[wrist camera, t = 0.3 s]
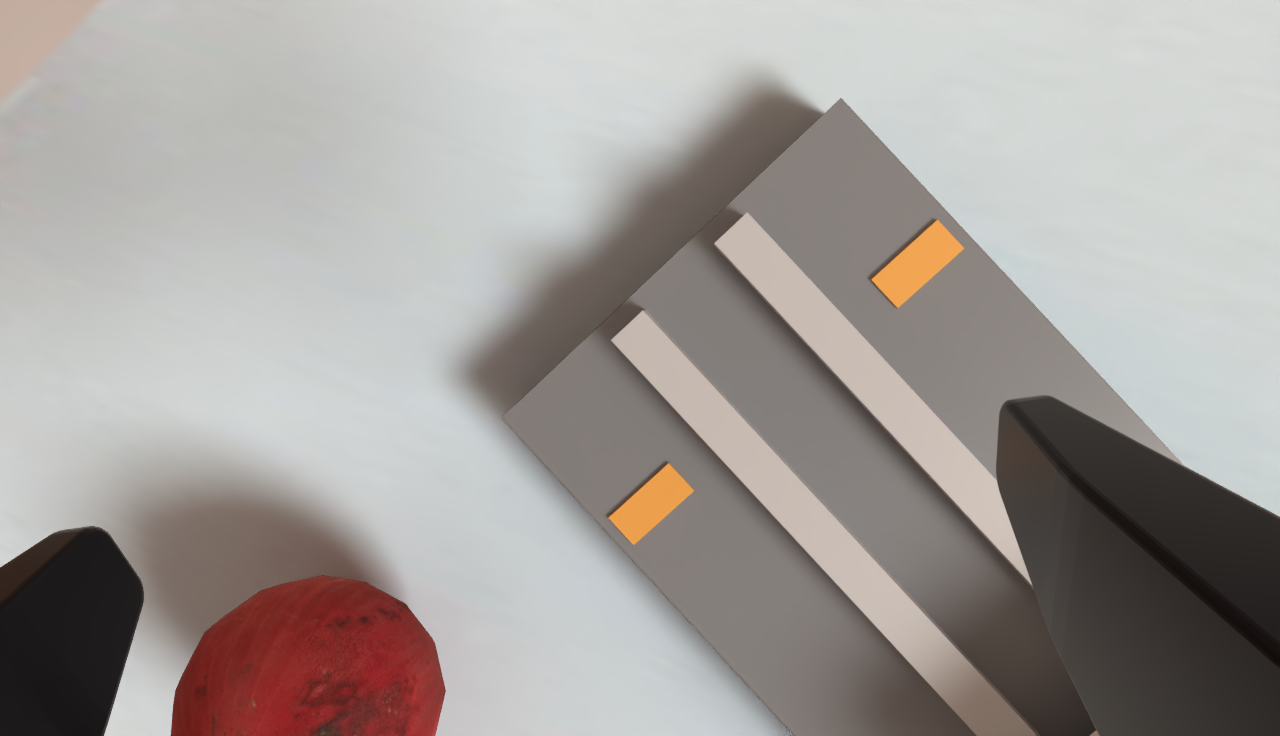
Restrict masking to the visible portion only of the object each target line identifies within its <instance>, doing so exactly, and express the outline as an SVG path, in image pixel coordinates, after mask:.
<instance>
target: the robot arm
mask: <svg viewBox="0 0 1280 736" xmlns="http://www.w3.org/2000/svg"><path fill="white" fill-rule="evenodd" d="M996 477H997V484H998V488H999V492H1000V495H1001V498H1002V501H1003V504H1004V506H1005V509H1006V512H1007V515H1008V518H1009V521H1010V523H1011V526H1012V529H1013V532H1014V535H1015V538H1016V540H1017V543H1018V546H1019V549H1020V552H1021V555H1022V558H1023V560H1024V563H1025V566H1026V569H1027V572H1028V575H1029V577H1030V580H1031V583H1032V586H1033V589H1034V592H1035V594H1036V597H1037V600H1038V603H1039V606H1040V609H1041V611H1042V614H1043V617H1044V619H1045V622H1046V625H1047V627H1048V630H1049V633H1050V635H1051V637H1052V639H1053V642H1054V644H1055V646H1056V648H1057V650H1058V653H1059V655H1060V657H1061V659H1062V661H1063V663H1064V665H1065V667H1066V669H1067V671H1068V673H1069V675H1070V677H1071V679H1072V681H1073V683H1074V685H1075V687H1076V689H1077V692H1078V694H1079V696H1080V698H1081V700H1082V702H1083V704H1084V706H1085V708H1086V710H1087V712H1088V714H1089V716H1090V718H1091V720H1092V722H1093V724H1094V726H1095V728H1096V730H1097V732H1098V734H1099V736H1280V517H1279V516H1277V515H1275V514H1273V513H1272V512H1270V511H1268V510H1266V509H1264V508H1262V507H1260V506H1258V505H1257V504H1255V503H1253V502H1251V501H1249V500H1247V499H1245V498H1243V497H1241V496H1240V495H1238V494H1236V493H1234V492H1232V491H1230V490H1228V489H1226V488H1225V487H1223V486H1221V485H1219V484H1217V483H1215V482H1213V481H1211V480H1209V479H1208V478H1206V477H1204V476H1202V475H1200V474H1198V473H1196V472H1194V471H1192V470H1191V469H1189V468H1187V467H1185V466H1183V465H1181V464H1179V463H1177V462H1176V461H1174V460H1172V459H1170V458H1168V457H1166V456H1164V455H1162V454H1160V453H1159V452H1157V451H1155V450H1153V449H1151V448H1149V447H1147V446H1145V445H1144V444H1142V443H1140V442H1138V441H1136V440H1134V439H1132V438H1130V437H1128V436H1127V435H1125V434H1123V433H1121V432H1119V431H1117V430H1115V429H1113V428H1112V427H1110V426H1108V425H1106V424H1104V423H1102V422H1100V421H1098V420H1096V419H1095V418H1093V417H1091V416H1089V415H1087V414H1085V413H1083V412H1081V411H1080V410H1078V409H1076V408H1074V407H1072V406H1070V405H1068V404H1066V403H1064V402H1063V401H1061V400H1059V399H1057V398H1055V397H1052V396H1050V395H1037V396H1030V397H1023V398H1016V399H1009V400H1007V401H1006V402H1005V403H1003V404H1002V406H1001V409H1000V412H999V424H998V440H997V457H996ZM143 601H144V591H143V585H142V582H141V580H140V578H139V576H138V575H137V573H136V572H135V571H134V569H133V568H132V566H131V565H130V563H129V562H128V560H127V559H126V557H125V556H124V555H123V553H122V552H121V550H120V549H119V547H118V546H117V544H116V543H115V541H114V540H113V539H112V537H111V536H110V535H109V533H108V532H106V531H105V530H103V529H102V528H100V527H94V526H89V527H82V528H74V529H67V530H62V531H58V532H55V533H53V534H51V535H50V536H48V537H46V538H45V539H43V540H42V541H40V542H39V543H37V544H36V545H34V546H33V547H31V548H30V549H28V550H26V551H25V552H23V553H22V554H20V555H19V556H17V557H16V558H14V559H13V560H11V561H10V562H8V563H7V564H5V565H3V566H2V567H0V736H104V733H105V730H106V727H107V724H108V721H109V718H110V714H111V711H112V707H113V704H114V701H115V697H116V694H117V691H118V687H119V684H120V680H121V677H122V674H123V670H124V667H125V664H126V660H127V657H128V653H129V650H130V647H131V643H132V640H133V637H134V633H135V630H136V626H137V623H138V620H139V616H140V613H141V610H142V606H143Z"/></svg>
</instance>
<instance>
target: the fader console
mask: <svg viewBox="0 0 1280 736" xmlns="http://www.w3.org/2000/svg"><path fill="white" fill-rule="evenodd" d="M1037 395H1050V396H1052V397H1055V398H1057V399H1059V400H1061V401H1063V402H1064V403H1066V404H1068V405H1070V406H1072V407H1074V408H1076V409H1078V410H1080V411H1081V412H1083V413H1085V414H1087V415H1089V416H1091V417H1093V418H1095V419H1096V420H1098V421H1100V422H1102V423H1104V424H1106V425H1108V426H1110V427H1112V428H1113V429H1115V430H1117V431H1119V432H1121V433H1123V434H1125V435H1127V436H1128V437H1130V438H1132V439H1134V440H1136V441H1138V442H1140V443H1142V444H1144V445H1145V446H1147V447H1149V448H1151V449H1153V450H1155V451H1157V452H1159V453H1160V454H1162V455H1164V456H1166V457H1168V458H1170V459H1172V460H1174V461H1176V462H1177V463H1179V464H1181V465H1183V464H1182V463H1181V462H1180V460H1179V459H1178V458H1177V457H1176V456H1175V455H1174V454H1173V453H1172V452H1171V451H1170V450H1169V449H1168V448H1167V447H1166V445H1165V444H1164V443H1163V442H1162V441H1161V440H1160V439H1159V438H1158V437H1157V436H1156V435H1155V434H1154V433H1153V432H1152V430H1151V429H1150V428H1149V427H1148V426H1147V425H1146V424H1145V423H1144V422H1143V421H1142V420H1141V419H1140V418H1139V417H1138V415H1137V414H1136V413H1135V412H1134V411H1133V410H1132V409H1131V408H1130V407H1129V406H1128V405H1127V404H1126V403H1125V402H1124V400H1123V399H1122V398H1121V397H1120V396H1119V395H1118V394H1117V393H1116V392H1115V391H1114V390H1113V389H1112V388H1111V387H1110V385H1109V384H1108V383H1107V382H1106V381H1105V380H1104V379H1103V378H1102V377H1101V376H1100V375H1099V374H1098V373H1097V372H1096V370H1095V369H1094V368H1093V367H1092V366H1091V365H1090V364H1089V363H1088V362H1087V361H1086V360H1085V359H1084V358H1083V357H1082V355H1081V354H1080V353H1079V352H1078V351H1077V350H1076V349H1075V348H1074V347H1073V346H1072V345H1071V344H1070V343H1069V342H1068V340H1067V339H1066V338H1065V337H1064V336H1063V335H1062V334H1061V333H1060V332H1059V331H1058V330H1057V329H1056V328H1055V327H1054V326H1053V324H1052V323H1051V322H1050V321H1049V320H1048V319H1047V318H1046V317H1045V316H1044V315H1043V314H1042V313H1041V312H1040V311H1039V309H1038V308H1037V307H1036V306H1035V305H1034V304H1033V303H1032V302H1031V301H1030V300H1029V299H1028V298H1027V297H1026V296H1025V294H1024V293H1023V292H1022V291H1021V290H1020V289H1019V288H1018V287H1017V286H1016V285H1015V284H1014V283H1013V282H1012V281H1011V279H1010V278H1009V277H1008V276H1007V275H1006V274H1005V273H1004V272H1003V271H1002V270H1001V269H1000V268H999V267H998V266H997V264H996V263H995V262H994V261H993V260H992V259H991V258H990V257H989V256H988V255H987V254H986V253H985V252H984V251H983V249H982V248H981V247H980V246H979V245H978V244H977V243H976V242H975V241H974V240H973V239H972V238H971V237H970V236H969V234H968V233H967V232H966V231H965V230H964V229H963V228H962V227H961V226H960V225H959V224H958V223H957V222H956V221H955V219H954V218H953V217H952V216H951V215H950V214H949V213H948V212H947V211H946V210H945V209H944V208H943V207H942V206H941V204H940V203H939V202H938V201H937V200H936V199H935V198H934V197H933V196H932V195H931V194H930V193H929V192H928V191H927V189H926V188H925V187H924V186H923V185H922V184H921V183H920V182H919V181H918V180H917V179H916V178H915V177H914V176H913V174H912V173H911V172H910V171H909V170H908V169H907V168H906V167H905V166H904V165H903V164H902V163H901V162H900V161H899V159H898V158H897V157H896V156H895V155H894V154H893V153H892V152H891V151H890V150H889V149H888V148H887V147H886V146H885V144H884V143H883V142H882V141H881V140H880V139H879V138H878V137H877V136H876V135H875V134H874V133H873V132H872V131H871V129H870V128H869V127H868V126H867V125H866V124H865V123H864V122H863V121H862V120H861V119H860V118H859V117H858V116H857V114H856V113H855V112H854V111H853V110H852V109H851V108H850V107H849V106H848V105H847V104H846V103H845V102H844V101H843V99H842V98H840V99H839V100H838V101H837V102H836V103H835V104H834V105H833V106H832V107H831V108H830V109H829V110H828V111H827V112H826V113H825V114H823V115H822V116H821V117H820V118H819V119H818V120H817V121H816V122H815V123H814V124H813V125H812V126H811V127H810V128H809V129H808V130H806V131H805V132H804V133H803V134H802V135H801V136H800V137H799V138H798V139H797V140H796V141H795V142H794V143H793V144H792V145H791V146H789V147H788V148H787V149H786V150H785V151H784V152H783V153H782V154H781V155H780V156H779V157H778V158H777V159H776V160H775V161H774V162H773V163H771V164H770V165H769V166H768V167H767V168H766V169H765V170H764V171H763V172H762V173H761V174H760V175H759V176H758V177H757V178H756V179H754V180H753V181H752V182H751V183H750V184H749V185H748V186H747V187H746V188H745V189H744V190H743V191H742V192H741V193H740V194H739V195H738V196H736V197H735V198H734V199H733V200H732V201H731V202H730V203H729V204H728V205H727V206H726V207H725V208H724V209H723V210H722V211H721V212H719V213H718V214H717V215H716V216H715V217H714V218H713V219H712V220H711V221H710V222H709V223H708V224H707V225H706V226H705V227H704V228H703V229H701V230H700V231H699V232H698V233H697V234H696V235H695V236H694V237H693V238H692V239H691V240H690V241H689V242H688V243H687V244H686V245H684V246H683V247H682V248H681V249H680V250H679V251H678V252H677V253H676V254H675V255H674V256H673V257H672V258H671V259H670V260H669V261H667V262H666V263H665V264H664V265H663V266H662V267H661V268H660V269H659V270H658V271H657V272H656V273H655V274H654V275H653V276H652V277H651V278H649V279H648V280H647V281H646V282H645V283H644V284H643V285H642V286H641V287H640V288H639V289H638V290H637V291H636V292H635V293H634V294H632V295H631V296H630V297H629V298H628V299H627V300H626V301H625V302H624V303H623V304H622V305H621V306H620V307H619V308H618V309H617V310H616V311H614V312H613V313H612V314H611V315H610V316H609V317H608V318H607V319H606V320H605V321H604V322H603V323H602V324H601V325H600V326H599V327H597V328H596V329H595V330H594V331H593V332H592V333H591V334H590V335H589V336H588V337H587V338H586V339H585V340H584V341H583V342H582V343H581V344H579V345H578V346H577V347H576V348H575V349H574V350H573V351H572V352H571V353H570V354H569V355H568V356H567V357H566V358H565V359H564V360H562V361H561V362H560V363H559V364H558V365H557V366H556V367H555V368H554V369H553V370H552V371H551V372H550V373H549V374H548V375H547V376H546V377H544V378H543V379H542V380H541V381H540V382H539V383H538V384H537V385H536V386H535V387H534V388H533V389H532V390H531V391H530V392H529V393H527V394H526V395H525V396H524V397H523V398H522V399H521V400H520V401H519V402H518V403H517V404H516V405H515V406H514V407H513V408H512V409H510V410H509V411H508V412H507V413H506V414H505V415H504V416H503V417H502V419H503V421H504V422H505V423H506V424H507V425H508V426H509V427H510V428H511V429H512V430H513V431H514V432H515V434H516V435H517V436H518V437H519V438H520V439H521V440H522V441H523V442H524V443H525V444H526V445H527V447H528V448H529V449H530V450H531V451H532V452H533V453H534V454H535V455H536V456H537V457H538V458H539V460H540V461H541V462H542V463H543V464H544V465H545V466H546V467H547V468H548V469H549V470H550V471H551V473H552V474H553V475H554V476H555V477H556V478H557V479H558V480H559V481H560V482H561V483H562V484H563V486H564V487H565V488H566V489H567V490H568V491H569V492H570V493H571V494H572V495H573V496H574V497H575V499H576V500H577V501H578V502H579V503H580V504H581V505H582V506H583V507H584V508H585V509H586V510H587V512H588V513H589V514H590V515H591V516H592V517H593V518H594V519H595V520H596V521H597V522H598V523H599V525H600V526H601V527H602V528H603V529H604V530H605V531H606V532H607V533H608V534H609V535H610V537H611V538H612V539H613V540H614V541H615V542H616V543H617V544H618V545H619V546H620V547H621V548H622V550H623V551H624V552H625V553H626V554H627V555H628V556H629V557H630V558H631V559H632V560H633V561H634V563H635V564H636V565H637V566H638V567H639V568H640V569H641V570H642V571H643V572H644V573H645V574H646V576H647V577H648V578H649V579H650V580H651V581H652V582H653V583H654V584H655V585H656V586H657V587H658V589H659V590H660V591H661V592H662V593H663V594H664V595H665V596H666V597H667V598H668V599H669V600H670V602H671V603H672V604H673V605H674V606H675V607H676V608H677V609H678V610H679V611H680V612H681V613H682V615H683V616H684V617H685V618H686V619H687V620H688V621H689V622H690V623H691V624H692V625H693V626H694V628H695V629H696V630H697V631H698V632H699V633H700V634H701V635H702V636H703V637H704V638H705V639H706V641H707V642H708V643H709V644H710V645H711V646H712V647H713V648H714V649H715V650H716V651H717V652H718V654H719V655H720V656H721V657H722V658H723V659H724V660H725V661H726V662H727V663H728V664H729V665H730V667H731V668H732V669H733V670H734V671H735V672H736V673H737V674H738V675H739V676H740V677H741V678H742V680H743V681H744V682H745V683H746V684H747V685H748V686H749V687H750V688H751V689H752V690H753V692H754V693H755V694H756V695H757V696H758V697H759V698H760V699H761V700H762V701H763V702H764V703H765V705H766V706H767V707H768V708H769V709H770V710H771V711H772V712H773V713H774V714H775V715H776V716H777V718H778V719H779V720H780V721H781V722H782V723H783V724H784V725H785V726H786V727H787V728H788V729H789V731H790V732H791V733H792V734H793V735H794V736H1090V735H1091V734H1092V733H1093V732H1095V731H1096V728H1095V726H1094V724H1093V722H1092V720H1091V718H1090V716H1089V714H1088V712H1087V710H1086V708H1085V706H1084V704H1083V702H1082V700H1081V698H1080V696H1079V694H1078V692H1077V689H1076V687H1075V685H1074V683H1073V681H1072V679H1071V677H1070V675H1069V673H1068V671H1067V669H1066V667H1065V665H1064V663H1063V661H1062V659H1061V657H1060V655H1059V653H1058V650H1057V648H1056V646H1055V644H1054V642H1053V639H1052V637H1051V635H1050V633H1049V630H1048V627H1047V625H1046V622H1045V619H1044V617H1043V614H1042V611H1041V609H1040V606H1039V603H1038V600H1037V597H1036V594H1035V592H1034V589H1033V586H1032V583H1031V580H1030V577H1029V575H1028V572H1027V569H1026V566H1025V563H1024V560H1023V558H1022V555H1021V552H1020V549H1019V546H1018V543H1017V540H1016V538H1015V535H1014V532H1013V529H1012V526H1011V523H1010V521H1009V518H1008V515H1007V512H1006V509H1005V506H1004V504H1003V501H1002V498H1001V495H1000V492H999V488H998V484H997V477H996V457H997V440H998V424H999V412H1000V409H1001V406H1002V404H1003V403H1005V402H1006V401H1007V400H1009V399H1016V398H1023V397H1030V396H1037ZM1183 466H1184V465H1183Z"/></svg>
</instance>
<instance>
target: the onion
mask: <svg viewBox="0 0 1280 736" xmlns="http://www.w3.org/2000/svg"><path fill="white" fill-rule="evenodd" d="M445 692H446V690H445V686H444V681H443V677H442V673H441V668H440V664H439V659H438V655H437V651H436V646H435V643H434V641H433V639H432V637H431V636H430V635H429V633H428V632H427V631H426V630H425V628H424V627H423V626H422V624H421V623H420V622H419V621H418V619H417V618H416V617H415V615H414V614H413V613H412V612H411V610H410V609H409V608H408V606H407V605H406V604H405V603H403V602H401V601H399V600H398V599H396V598H394V597H392V596H390V595H388V594H386V593H384V592H383V591H381V590H379V589H377V588H375V587H373V586H371V585H369V584H368V583H366V582H361V581H355V580H348V579H342V578H336V577H329V576H323V575H321V576H317V577H312V578H307V579H303V580H299V581H294V582H290V583H285V584H281V585H278V586H274V587H271V588H268V589H265V590H262V591H260V592H258V593H257V594H255V595H254V596H252V597H251V598H250V599H248V600H247V601H245V602H244V603H242V604H241V605H240V606H238V607H237V608H235V609H234V610H233V611H231V612H230V613H228V614H227V615H225V616H224V617H223V618H221V619H220V620H219V621H218V622H217V623H215V624H214V625H213V626H212V627H211V628H209V629H208V630H207V631H206V632H205V633H204V635H203V637H202V638H201V640H200V642H199V644H198V646H197V648H196V649H195V651H194V653H193V655H192V657H191V659H190V661H189V663H188V665H187V667H186V669H185V671H184V673H183V674H182V677H181V679H180V681H179V684H178V686H177V688H176V690H175V697H174V704H173V715H172V728H171V736H435V734H436V730H437V726H438V722H439V717H440V713H441V709H442V705H443V700H444V696H445Z"/></svg>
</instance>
